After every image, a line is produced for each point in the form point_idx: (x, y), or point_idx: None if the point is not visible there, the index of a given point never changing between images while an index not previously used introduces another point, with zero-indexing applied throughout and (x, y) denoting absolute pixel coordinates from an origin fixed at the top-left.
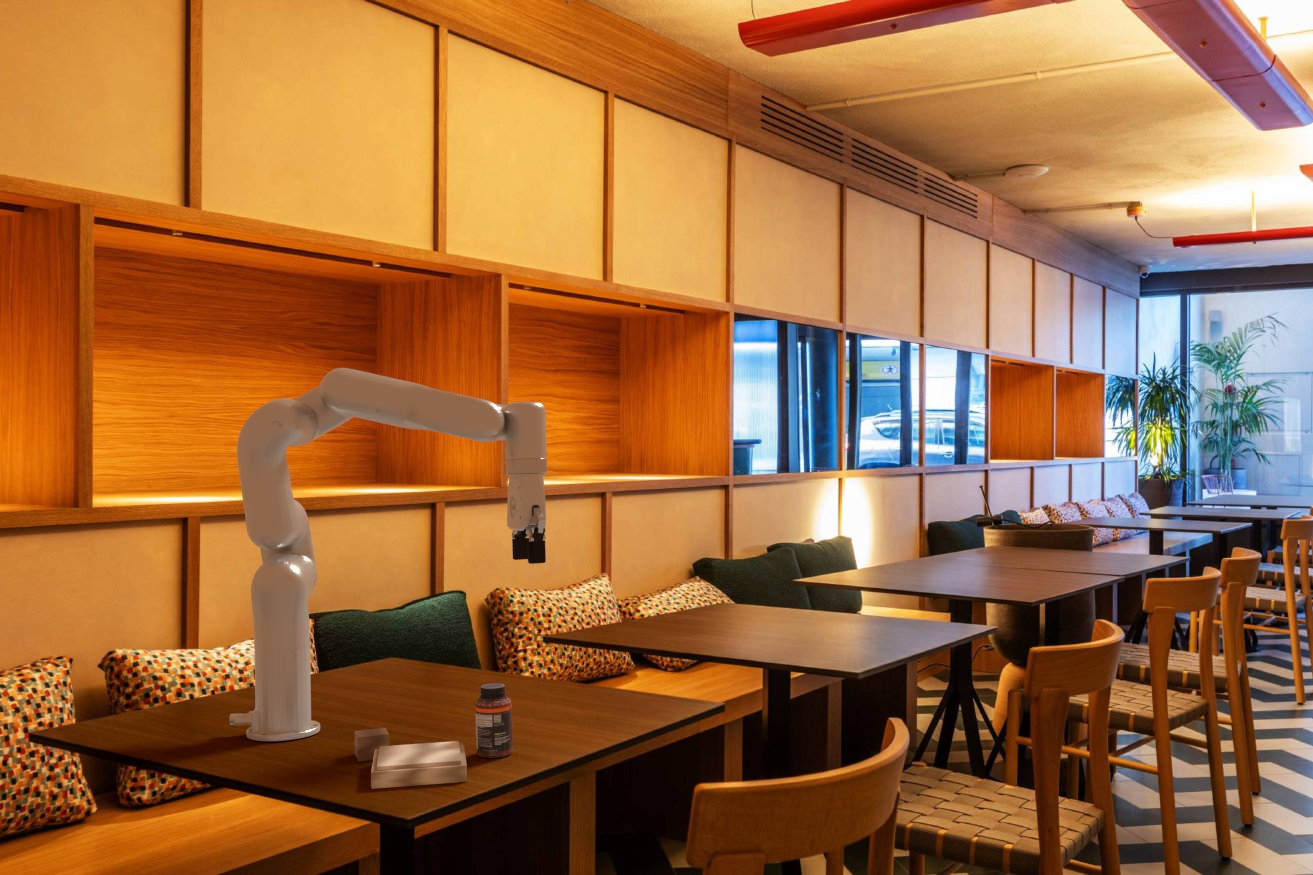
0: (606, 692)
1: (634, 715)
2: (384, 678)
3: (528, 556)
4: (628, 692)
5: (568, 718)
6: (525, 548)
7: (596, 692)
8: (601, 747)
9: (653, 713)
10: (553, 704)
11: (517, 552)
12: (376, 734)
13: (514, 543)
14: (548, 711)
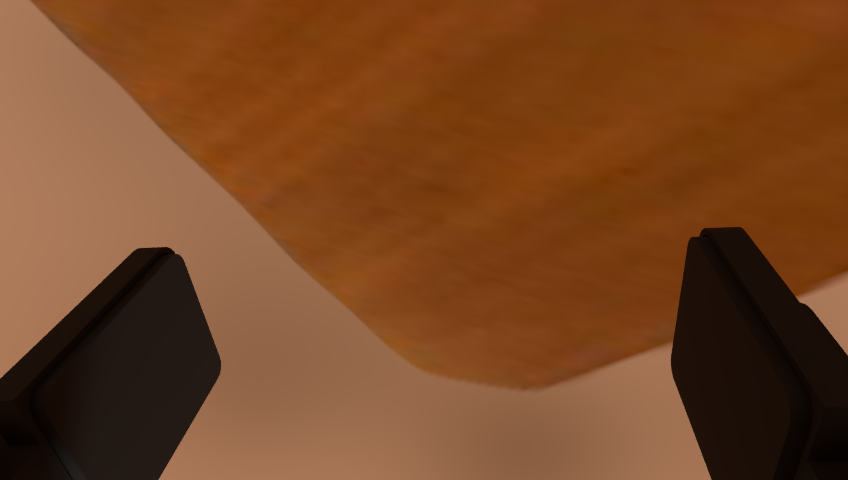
0: None
1: (434, 267)
2: None
3: (108, 280)
4: None
5: (469, 124)
6: (711, 420)
7: None
8: (155, 117)
9: (436, 305)
10: (664, 131)
11: (708, 309)
12: None
13: (761, 361)
14: (581, 96)
